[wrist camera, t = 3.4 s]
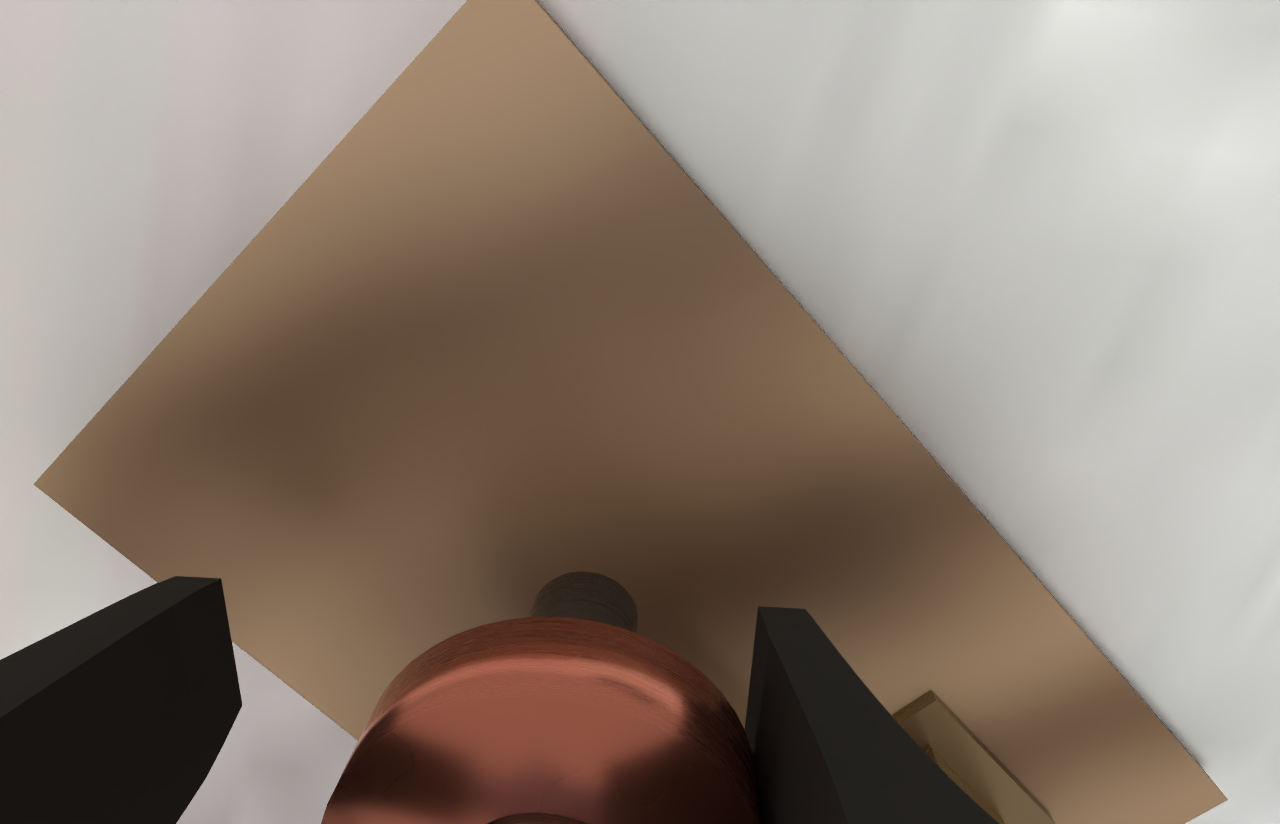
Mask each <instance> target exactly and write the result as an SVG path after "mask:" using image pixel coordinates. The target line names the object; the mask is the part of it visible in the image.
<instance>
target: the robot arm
mask: <svg viewBox="0 0 1280 824" xmlns="http://www.w3.org/2000/svg"><path fill="white" fill-rule="evenodd" d="M241 707H242V701H241V695H240V689H239V683H238V676H237V670H236V664H235V658H234V652H233V646H232V640H231V634H230V628H229V622H228V616H227V610H226V604H225V598H224V592H223V586H222V580H221V578H204V577H185V576H174V577H172V578H169V579H167V580H164V581H162V582H159V583H157V584H154V585H152V586H150V587H148V588H145V589H143V590H141V591H139V592H137V593H135V594H132V595H130V596H128V597H126V598H124V599H122V600H120V601H118V602H116V603H114V604H112V605H110V606H108V607H106V608H104V609H102V610H100V611H98V612H96V613H94V614H92V615H90V616H88V617H86V618H84V619H82V620H80V621H78V622H76V623H74V624H72V625H70V626H68V627H66V628H64V629H62V630H60V631H58V632H56V633H54V634H52V635H50V636H48V637H46V638H44V639H42V640H40V641H38V642H36V643H34V644H32V645H30V646H28V647H26V648H24V649H22V650H20V651H18V652H16V653H14V654H12V655H10V656H8V657H6V658H4V659H1V660H0V824H176V823H177V821H178V820H179V818H180V817H181V815H182V814H183V812H184V811H185V809H186V808H187V806H188V805H189V803H190V802H191V800H192V799H193V797H194V796H195V794H196V792H197V791H198V789H199V788H200V786H201V785H202V783H203V782H204V780H205V778H206V777H207V775H208V773H209V771H210V769H211V767H212V765H213V763H214V761H215V760H216V758H217V756H218V754H219V752H220V750H221V748H222V746H223V744H224V742H225V740H226V738H227V736H228V734H229V732H230V730H231V728H232V725H233V723H234V721H235V719H236V717H237V715H238V713H239V711H240V709H241ZM745 732H746V734H747V737H748V740H749V744H750V747H751V750H752V753H753V761H754V768H755V775H756V783H757V790H758V797H759V805H760V812H761V819H762V824H999V823H998V822H997V821H996V820H995V819H994V818H992V817H991V816H990V815H989V814H988V813H987V812H986V811H985V810H984V809H982V808H981V807H980V806H979V805H978V804H977V803H976V802H975V801H973V800H972V799H971V798H970V797H969V796H968V795H967V794H966V793H965V792H964V791H963V790H962V789H961V788H960V787H959V786H958V785H957V784H956V783H955V782H954V781H953V780H952V779H950V778H949V777H948V776H947V774H946V773H945V772H944V771H943V770H942V769H941V768H940V767H939V766H938V765H937V764H936V763H935V762H934V761H933V760H932V759H931V758H930V757H929V756H928V755H927V754H926V753H925V752H924V751H923V750H922V749H921V748H920V747H919V746H918V744H917V743H916V742H915V741H914V740H913V739H912V738H911V737H910V736H909V735H908V733H907V732H906V731H905V730H904V729H903V728H902V727H901V726H900V725H899V723H898V722H897V721H896V720H895V719H894V718H893V716H892V715H891V714H890V713H889V712H888V711H887V709H886V708H885V707H884V706H883V705H882V704H881V703H880V701H879V700H878V699H877V698H876V697H875V696H874V694H873V693H872V692H871V691H870V690H869V688H868V687H867V686H866V685H865V684H864V682H863V681H862V680H861V679H860V677H859V676H858V675H857V674H856V672H855V671H854V670H853V669H852V667H851V666H850V665H849V664H848V662H847V661H846V660H845V659H844V657H843V656H842V655H841V654H840V652H839V651H838V650H837V648H836V647H835V646H834V645H833V643H832V642H831V641H830V639H829V638H828V637H827V635H826V634H825V633H824V631H823V630H822V629H821V628H820V626H819V625H818V624H817V622H816V621H815V620H814V618H813V617H812V616H811V615H810V614H809V613H808V611H807V610H806V609H800V608H781V607H761V606H758V611H757V620H756V629H755V639H754V648H753V657H752V666H751V676H750V685H749V694H748V703H747V712H746V722H745Z"/></svg>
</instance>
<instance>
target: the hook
mask: <svg viewBox="0 0 1280 824" xmlns="http://www.w3.org/2000/svg"><path fill="white" fill-rule="evenodd" d="M637 626H638V614H637V609H636V606H635V603H634V601H633V599H632V597H631V596H630V594H629V593H628V592H627V591H626V589H625V588H624V587H623V586H621V585H620V584H619V583H618V582H616V581H614V580H613V579H611V578H609V577H607V576H604V575H601V574H598V573H594V572H571V573H567V574H563V575H561V576H558V577H556V578H554V579H553V580H551V581H550V582H548V583H547V584H546V585H545V586H544V587H543V588H542V589H541V590H540V591H539V593H538V594H537V596H536V598H535V600H534V603H533V606H532V610H531V613H530V617H525V618H516V619H508V620H502V621H498V622H493V623H489V624H485V625H481V626H477V627H474V628H472V629H469V630H466V631H464V632H461V633H458V634H456V635H453V636H451V637H449V638H447V639H445V640H444V641H442V642H440V643H438V644H436V645H434V646H432V647H431V648H429V649H428V650H426V651H425V652H424V653H422V654H421V655H419V656H418V657H417V658H415V659H414V660H412V661H411V662H410V663H409V664H408V665H407V666H406V667H405V668H404V669H403V670H402V671H401V672H400V673H399V674H398V675H397V676H396V677H395V678H394V679H393V680H392V682H391V683H390V684H389V686H388V687H387V688H386V690H385V691H384V692H383V694H382V695H381V697H380V699H379V701H378V703H377V705H376V706H375V708H374V710H373V712H372V714H371V716H370V718H369V720H368V722H367V724H366V726H365V728H364V730H363V732H362V734H361V737H360V739H359V741H358V743H357V745H356V747H355V749H354V751H353V753H352V755H351V757H350V759H349V761H348V763H347V765H346V767H345V769H344V771H343V773H342V775H341V777H340V779H339V782H338V784H337V786H336V788H335V790H334V792H333V794H332V796H331V798H330V800H329V802H328V804H327V807H326V810H325V813H324V816H323V820H322V823H321V824H762V819H761V812H760V805H759V797H758V790H757V783H756V775H755V768H754V761H753V753H752V750H751V747H750V744H749V740H748V737H747V734H746V732H745V730H744V728H743V726H742V724H741V722H740V719H739V717H738V715H737V713H736V712H735V710H734V709H733V708H732V706H731V705H730V703H729V702H728V700H727V699H726V698H725V696H724V695H723V693H722V692H721V691H720V690H719V689H718V688H717V687H716V686H715V685H714V684H713V683H712V682H711V681H710V679H709V678H708V677H707V676H706V675H704V674H703V673H702V672H701V671H700V670H698V669H697V668H696V667H695V666H693V665H692V664H691V663H690V662H689V661H687V660H686V659H684V658H683V657H681V656H680V655H678V654H676V653H675V652H673V651H672V650H670V649H669V648H667V647H665V646H663V645H661V644H659V643H657V642H655V641H653V640H651V639H649V638H647V637H644V636H642V635H640V634H637Z"/></svg>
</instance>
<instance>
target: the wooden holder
mask: <svg viewBox="0 0 1280 824" xmlns="http://www.w3.org/2000/svg"><path fill="white" fill-rule="evenodd" d="M892 716H893V718H894V719H895V720H896V721H897V722H898V723H899V725H900V726H901V727H902V728H903V729H904V730H905V731H906V732H907V733H908V735H909V736H910V737H911V738H912V739H913V740H914V741H915V742H916V743H917V744H918V746H919V747H920V748H921V749H922V750H923V751H924V752H925V753H926V754H927V755H928V756H929V757H930V758H931V759H932V760H933V761H934V762H935V763H936V764H937V765H938V766H939V767H940V768H941V769H942V770H943V771H944V772H945V773H946V774H947V776H948V777H949V778H950V779H952V780H953V781H954V782H955V783H956V784H957V785H958V786H959V787H960V788H961V789H962V790H963V791H964V792H965V793H966V794H967V795H968V796H969V797H970V798H971V799H972V800H973V801H975V802H976V803H977V804H978V805H979V806H980V807H981V808H982V809H984V810H985V811H986V812H987V813H988V814H989V815H990V816H991V817H992V818H994V819H995V820H996V821H997V822H998V823H999V824H1055V822H1054V820H1053V818H1052V817H1051V815H1050V813H1049V812H1048V811H1047V809H1046V808H1045V807H1044V806H1043V805H1042V804H1041V803H1040V802H1039V801H1038V800H1037V799H1036V798H1035V797H1034V796H1033V795H1032V794H1031V793H1030V792H1029V791H1028V790H1027V789H1026V788H1025V787H1024V786H1023V785H1022V784H1021V782H1020V781H1019V780H1018V779H1017V778H1016V777H1015V776H1014V775H1013V774H1012V773H1011V772H1010V771H1009V770H1008V769H1007V768H1006V767H1005V766H1004V765H1003V764H1002V763H1001V762H1000V761H999V760H998V759H997V758H996V757H995V756H994V754H993V753H992V752H991V751H990V750H989V749H988V748H987V747H986V746H985V745H984V744H983V743H982V742H981V741H980V740H979V739H978V738H977V737H976V736H975V735H974V734H973V733H972V732H971V731H970V730H969V729H968V727H967V726H966V725H965V724H964V723H963V722H962V721H961V720H960V719H959V718H958V717H957V716H956V715H955V714H954V713H953V712H952V711H951V710H950V709H949V708H948V707H947V706H946V705H945V704H944V703H943V702H942V701H941V699H940V698H939V697H938V696H937V695H936V694H935V693H934V692H933V691H932V690H930V691H928V692H927V693H925V694H923V695H922V696H920V697H919V698H917V699H916V700H914V701H913V702H911V703H910V704H908V705H907V706H905V707H904V708H902V709H901V710H899V711H897V712H896V713H894V714H893V715H892Z"/></svg>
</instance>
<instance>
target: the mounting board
mask: <svg viewBox="0 0 1280 824" xmlns="http://www.w3.org/2000/svg"><path fill="white" fill-rule="evenodd" d="M34 485H35V486H36V487H38V488H39V489H40V490H41V491H43V492H44V493H45V494H46V495H48V496H49V497H50V498H52V499H53V500H54V501H55V502H57V503H58V504H59V505H60V506H62V507H63V508H64V509H65V510H67V511H68V512H69V513H71V514H72V515H73V516H74V517H76V518H77V519H78V520H79V521H81V522H82V523H83V524H84V525H86V526H87V527H88V528H89V529H91V530H92V531H93V532H95V533H96V534H97V535H98V536H100V537H101V538H102V539H103V540H105V541H106V542H107V543H108V544H110V545H111V546H112V547H114V548H115V549H116V550H117V551H119V552H120V553H121V554H122V555H124V556H125V557H126V558H127V559H129V560H130V561H131V562H133V563H134V564H135V565H136V566H138V567H139V568H140V569H141V570H143V571H144V572H145V573H146V574H148V575H149V576H150V577H152V578H153V579H154V580H155V581H157V582H158V583H159V582H162V581H164V580H167V579H169V578H172V577H174V576H185V577H204V578H221V580H222V586H223V592H224V598H225V604H226V610H227V616H228V622H229V628H230V634H231V640H232V641H233V642H234V643H235V644H236V645H238V646H239V647H240V648H241V649H243V650H244V651H245V652H247V653H248V654H249V655H250V656H252V657H253V658H254V659H255V660H257V661H258V662H259V663H260V664H262V665H263V666H264V667H266V668H267V669H268V670H269V671H271V672H272V673H273V674H274V675H276V676H277V677H278V678H279V679H281V680H282V681H283V682H285V683H286V684H287V685H288V686H290V687H291V688H292V689H293V690H295V691H296V692H297V693H298V694H300V695H301V696H302V697H304V698H305V699H306V700H307V701H309V702H310V703H311V704H312V705H314V706H315V707H316V708H317V709H319V710H320V711H321V712H323V713H324V714H325V715H326V716H328V717H329V718H330V719H331V720H333V721H334V722H335V723H336V724H338V725H339V726H340V727H342V728H343V729H344V730H345V731H347V732H348V733H349V734H350V735H352V736H353V737H354V738H355V739H357V740H358V741H359V739H360V737H361V734H362V732H363V730H364V728H365V726H366V724H367V722H368V720H369V718H370V716H371V714H372V712H373V710H374V708H375V706H376V705H377V703H378V701H379V699H380V697H381V695H382V694H383V692H384V691H385V690H386V688H387V687H388V686H389V684H390V683H391V682H392V680H393V679H394V678H395V677H396V676H397V675H398V674H399V673H400V672H401V671H402V670H403V669H404V668H405V667H406V666H407V665H408V664H409V663H410V662H411V661H412V660H414V659H415V658H417V657H418V656H419V655H421V654H422V653H424V652H425V651H426V650H428V649H429V648H431V647H432V646H434V645H436V644H438V643H440V642H442V641H444V640H445V639H447V638H449V637H451V636H453V635H456V634H458V633H461V632H464V631H466V630H469V629H472V628H474V627H477V626H481V625H485V624H489V623H493V622H498V621H502V620H508V619H516V618H525V617H530V613H531V610H532V606H533V603H534V600H535V598H536V596H537V594H538V593H539V591H540V590H541V589H542V588H543V587H544V586H545V585H546V584H547V583H548V582H550V581H551V580H553V579H554V578H556V577H558V576H561V575H563V574H567V573H571V572H594V573H598V574H601V575H604V576H607V577H609V578H611V579H613V580H614V581H616V582H618V583H619V584H620V585H621V586H623V587H624V588H625V589H626V591H627V592H628V593H629V594H630V596H631V597H632V599H633V601H634V603H635V606H636V609H637V614H638V626H637V634H640V635H642V636H644V637H647V638H649V639H651V640H653V641H655V642H657V643H659V644H661V645H663V646H665V647H667V648H669V649H670V650H672V651H673V652H675V653H676V654H678V655H680V656H681V657H683V658H684V659H686V660H687V661H689V662H690V663H691V664H692V665H693V666H695V667H696V668H697V669H698V670H700V671H701V672H702V673H703V674H704V675H706V676H707V677H708V678H709V679H710V681H711V682H712V683H713V684H714V685H715V686H716V687H717V688H718V689H719V690H720V691H721V692H722V693H723V695H724V696H725V698H726V699H727V700H728V702H729V703H730V705H731V706H732V708H733V709H734V710H735V712H736V713H737V715H738V717H739V719H740V722H741V724H742V726H743V728H744V730H745V722H746V712H747V703H748V694H749V685H750V676H751V666H752V657H753V648H754V639H755V629H756V620H757V611H758V606H761V607H781V608H800V609H806V610H807V611H808V613H809V614H810V615H811V616H812V617H813V618H814V620H815V621H816V622H817V624H818V625H819V626H820V628H821V629H822V630H823V631H824V633H825V634H826V635H827V637H828V638H829V639H830V641H831V642H832V643H833V645H834V646H835V647H836V648H837V650H838V651H839V652H840V654H841V655H842V656H843V657H844V659H845V660H846V661H847V662H848V664H849V665H850V666H851V667H852V669H853V670H854V671H855V672H856V674H857V675H858V676H859V677H860V679H861V680H862V681H863V682H864V684H865V685H866V686H867V687H868V688H869V690H870V691H871V692H872V693H873V694H874V696H875V697H876V698H877V699H878V700H879V701H880V703H881V704H882V705H883V706H884V707H885V708H886V709H887V711H888V712H889V713H890V714H891V715H893V714H894V713H896V712H897V711H899V710H901V709H902V708H904V707H905V706H907V705H908V704H910V703H911V702H913V701H914V700H916V699H917V698H919V697H920V696H922V695H923V694H925V693H927V692H928V691H930V690H932V691H933V692H934V693H935V694H936V695H937V696H938V697H939V698H940V699H941V701H942V702H943V703H944V704H945V705H946V706H947V707H948V708H949V709H950V710H951V711H952V712H953V713H954V714H955V715H956V716H957V717H958V718H959V719H960V720H961V721H962V722H963V723H964V724H965V725H966V726H967V727H968V729H969V730H970V731H971V732H972V733H973V734H974V735H975V736H976V737H977V738H978V739H979V740H980V741H981V742H982V743H983V744H984V745H985V746H986V747H987V748H988V749H989V750H990V751H991V752H992V753H993V754H994V756H995V757H996V758H997V759H998V760H999V761H1000V762H1001V763H1002V764H1003V765H1004V766H1005V767H1006V768H1007V769H1008V770H1009V771H1010V772H1011V773H1012V774H1013V775H1014V776H1015V777H1016V778H1017V779H1018V780H1019V781H1020V782H1021V784H1022V785H1023V786H1024V787H1025V788H1026V789H1027V790H1028V791H1029V792H1030V793H1031V794H1032V795H1033V796H1034V797H1035V798H1036V799H1037V800H1038V801H1039V802H1040V803H1041V804H1042V805H1043V806H1044V807H1045V808H1046V809H1047V811H1048V812H1049V813H1050V815H1051V817H1052V818H1053V820H1054V822H1055V824H1185V823H1186V822H1188V821H1190V820H1192V819H1194V818H1195V817H1197V816H1199V815H1201V814H1203V813H1205V812H1206V811H1208V810H1210V809H1212V808H1214V807H1216V806H1217V805H1219V804H1221V803H1223V802H1225V801H1226V800H1228V799H1227V798H1226V797H1225V796H1224V794H1223V793H1222V792H1221V791H1220V789H1219V788H1218V787H1217V786H1216V785H1215V783H1214V782H1213V781H1212V780H1211V778H1210V777H1209V776H1208V775H1207V774H1206V772H1205V771H1204V770H1203V769H1202V768H1201V766H1200V765H1199V764H1198V763H1197V762H1196V761H1195V759H1194V758H1193V757H1192V756H1191V755H1190V754H1189V753H1188V751H1187V750H1186V749H1185V748H1184V747H1183V746H1182V744H1181V743H1180V742H1179V741H1178V740H1177V739H1176V738H1175V736H1174V735H1173V734H1172V733H1171V732H1170V731H1169V729H1168V728H1167V727H1166V726H1165V725H1164V724H1163V723H1162V721H1161V720H1160V719H1159V718H1158V717H1157V716H1156V714H1155V713H1154V712H1153V711H1152V710H1151V709H1150V708H1149V706H1148V705H1147V704H1146V703H1145V702H1144V701H1143V699H1142V698H1141V697H1140V696H1139V695H1138V694H1137V693H1136V691H1135V690H1134V689H1133V688H1132V687H1131V686H1130V684H1129V683H1128V682H1127V681H1126V680H1125V679H1124V678H1123V676H1122V675H1121V674H1120V673H1119V672H1118V671H1117V669H1116V668H1115V667H1114V666H1113V665H1112V664H1111V663H1110V661H1109V660H1108V659H1107V658H1106V657H1105V656H1104V655H1103V653H1102V652H1101V651H1100V650H1099V649H1098V648H1097V646H1096V645H1095V644H1094V643H1093V642H1092V641H1091V640H1090V638H1089V637H1088V636H1087V635H1086V634H1085V633H1084V631H1083V630H1082V629H1081V628H1080V627H1079V626H1078V625H1077V623H1076V622H1075V621H1074V620H1073V619H1072V618H1071V616H1070V615H1069V614H1068V613H1067V612H1066V611H1065V610H1064V608H1063V607H1062V606H1061V605H1060V604H1059V603H1058V601H1057V600H1056V599H1055V598H1054V597H1053V596H1052V595H1051V593H1050V592H1049V591H1048V590H1047V589H1046V588H1045V586H1044V585H1043V584H1042V583H1041V582H1040V581H1039V580H1038V578H1037V577H1036V576H1035V575H1034V574H1033V573H1032V571H1031V570H1030V569H1029V568H1028V567H1027V566H1026V565H1025V563H1024V562H1023V561H1022V560H1021V559H1020V558H1019V556H1018V555H1017V554H1016V553H1015V552H1014V551H1013V550H1012V548H1011V547H1010V546H1009V545H1008V544H1007V543H1006V542H1005V540H1004V539H1003V538H1002V537H1001V536H1000V535H999V533H998V532H997V531H996V530H995V529H994V528H993V527H992V525H991V524H990V523H989V522H988V521H987V520H986V518H985V517H984V516H983V515H982V514H981V513H980V512H979V510H978V509H977V508H976V507H975V506H974V505H973V503H972V502H971V501H970V500H969V499H968V498H967V497H966V495H965V494H964V493H963V492H962V491H961V490H960V488H959V487H958V486H957V485H956V484H955V483H954V482H953V480H952V479H951V478H950V477H949V476H948V475H947V473H946V472H945V471H944V470H943V469H942V468H941V467H940V465H939V464H938V463H937V462H936V461H935V460H934V458H933V457H932V456H931V455H930V454H929V453H928V452H927V450H926V449H925V448H924V447H923V446H922V445H921V443H920V442H919V441H918V440H917V439H916V438H915V437H914V435H913V434H912V433H911V432H910V431H909V430H908V429H907V427H906V426H905V425H904V424H903V423H902V422H901V420H900V419H899V418H898V417H897V416H896V415H895V414H894V412H893V411H892V410H891V409H890V408H889V407H888V405H887V404H886V403H885V402H884V401H883V400H882V399H881V397H880V396H879V395H878V394H877V393H876V392H875V390H874V389H873V388H872V387H871V386H870V385H869V384H868V382H867V381H866V380H865V379H864V378H863V377H862V375H861V374H860V373H859V372H858V371H857V370H856V369H855V367H854V366H853V365H852V364H851V363H850V362H849V360H848V359H847V358H846V357H845V356H844V355H843V354H842V352H841V351H840V350H839V349H838V348H837V347H836V345H835V344H834V343H833V342H832V341H831V340H830V339H829V337H828V336H827V335H826V334H825V333H824V332H823V330H822V329H821V328H820V327H819V326H818V325H817V324H816V322H815V321H814V320H813V319H812V318H811V317H810V315H809V314H808V313H807V312H806V311H805V310H804V309H803V307H802V306H801V305H800V304H799V303H798V302H797V301H796V299H795V298H794V297H793V296H792V295H791V294H790V292H789V291H788V290H787V289H786V288H785V287H784V286H783V284H782V283H781V282H780V281H779V280H778V279H777V277H776V276H775V275H774V274H773V273H772V272H771V271H770V269H769V268H768V267H767V266H766V265H765V264H764V262H763V261H762V260H761V259H760V258H759V257H758V256H757V254H756V253H755V252H754V251H753V250H752V249H751V247H750V246H749V245H748V244H747V243H746V242H745V241H744V239H743V238H742V237H741V236H740V235H739V234H738V232H737V231H736V230H735V229H734V228H733V227H732V226H731V224H730V223H729V222H728V221H727V220H726V219H725V217H724V216H723V215H722V214H721V213H720V212H719V211H718V209H717V208H716V207H715V206H714V205H713V204H712V202H711V201H710V200H709V199H708V198H707V197H706V196H705V194H704V193H703V192H702V191H701V190H700V189H699V188H698V186H697V185H696V184H695V183H694V182H693V181H692V179H691V178H690V177H689V176H688V175H687V174H686V173H685V171H684V170H683V169H682V168H681V167H680V166H679V164H678V163H677V162H676V161H675V160H674V159H673V158H672V156H671V155H670V154H669V153H668V152H667V151H666V149H665V148H664V147H663V146H662V145H661V144H660V143H659V141H658V140H657V139H656V138H655V137H654V136H653V134H652V133H651V132H650V131H649V130H648V129H647V128H646V126H645V125H644V124H643V123H642V122H641V121H640V119H639V118H638V117H637V116H636V115H635V114H634V113H633V111H632V110H631V109H630V108H629V107H628V106H627V104H626V103H625V102H624V101H623V100H622V99H621V98H620V96H619V95H618V94H617V93H616V92H615V91H614V89H613V88H612V87H611V86H610V85H609V84H608V83H607V81H606V80H605V79H604V78H603V77H602V76H601V74H600V73H599V72H598V71H597V70H596V69H595V68H594V66H593V65H592V64H591V63H590V62H589V61H588V60H587V58H586V57H585V56H584V55H583V54H582V53H581V51H580V50H579V49H578V48H577V47H576V46H575V45H574V43H573V42H572V41H571V40H570V39H569V38H568V36H567V35H566V34H565V33H564V32H563V31H562V30H561V28H560V27H559V26H558V25H557V24H556V23H555V21H554V20H553V19H552V18H551V17H550V16H549V15H548V13H547V12H546V11H545V10H544V9H543V8H542V6H541V5H540V4H539V3H538V2H537V1H536V0H467V2H466V3H465V4H464V5H463V6H462V7H461V8H460V9H459V11H458V12H457V13H456V14H455V15H454V16H453V17H452V18H451V19H450V21H449V22H448V23H447V24H446V25H445V26H444V27H443V28H442V29H441V31H440V32H439V33H438V34H437V35H436V36H435V37H434V38H433V40H432V41H431V42H430V43H429V44H428V45H427V46H426V47H425V48H424V50H423V51H422V52H421V53H420V54H419V55H418V56H417V57H416V58H415V60H414V61H413V62H412V63H411V64H410V65H409V66H408V67H407V68H406V70H405V71H404V72H403V73H402V74H401V75H400V76H399V77H398V79H397V80H396V81H395V82H394V83H393V84H392V85H391V86H390V87H389V89H388V90H387V91H386V92H385V93H384V94H383V95H382V96H381V97H380V99H379V100H378V101H377V102H376V103H375V104H374V105H373V106H372V108H371V109H370V110H369V111H368V112H367V113H366V114H365V115H364V116H363V118H362V119H361V120H360V121H359V122H358V123H357V124H356V125H355V126H354V128H353V129H352V130H351V131H350V132H349V133H348V134H347V135H346V137H345V138H344V139H343V140H342V141H341V142H340V143H339V144H338V145H337V147H336V148H335V149H334V150H333V151H332V152H331V153H330V154H329V155H328V157H327V158H326V159H325V160H324V161H323V162H322V163H321V164H320V166H319V167H318V168H317V169H316V170H315V171H314V172H313V173H312V174H311V176H310V177H309V178H308V179H307V180H306V181H305V182H304V183H303V184H302V186H301V187H300V188H299V189H298V190H297V191H296V192H295V193H294V194H293V196H292V197H291V198H290V199H289V200H288V201H287V202H286V203H285V205H284V206H283V207H282V208H281V209H280V210H279V211H278V212H277V213H276V215H275V216H274V217H273V218H272V219H271V220H270V221H269V222H268V223H267V225H266V226H265V227H264V228H263V229H262V230H261V231H260V232H259V234H258V235H257V236H256V237H255V238H254V239H253V240H252V241H251V242H250V244H249V245H248V246H247V247H246V248H245V249H244V250H243V251H242V252H241V254H240V255H239V256H238V257H237V258H236V259H235V260H234V261H233V263H232V264H231V265H230V266H229V267H228V268H227V269H226V270H225V271H224V273H223V274H222V275H221V276H220V277H219V278H218V279H217V280H216V281H215V283H214V284H213V285H212V286H211V287H210V288H209V289H208V290H207V292H206V293H205V294H204V295H203V296H202V297H201V298H200V299H199V300H198V302H197V303H196V304H195V305H194V306H193V307H192V308H191V309H190V310H189V312H188V313H187V314H186V315H185V316H184V317H183V318H182V319H181V320H180V322H179V323H178V324H177V325H176V326H175V327H174V328H173V329H172V331H171V332H170V333H169V334H168V335H167V336H166V337H165V338H164V339H163V341H162V342H161V343H160V344H159V345H158V346H157V347H156V348H155V349H154V351H153V352H152V353H151V354H150V355H149V356H148V357H147V358H146V360H145V361H144V362H143V363H142V364H141V365H140V366H139V367H138V368H137V370H136V371H135V372H134V373H133V374H132V375H131V376H130V377H129V378H128V380H127V381H126V382H125V383H124V384H123V385H122V386H121V387H120V389H119V390H118V391H117V392H116V393H115V394H114V395H113V396H112V397H111V399H110V400H109V401H108V402H107V403H106V404H105V405H104V406H103V407H102V409H101V410H100V411H99V412H98V413H97V414H96V415H95V416H94V418H93V419H92V420H91V421H90V422H89V423H88V424H87V425H86V426H85V428H84V429H83V430H82V431H81V432H80V433H79V434H78V435H77V436H76V438H75V439H74V440H73V441H72V442H71V443H70V444H69V445H68V446H67V448H66V449H65V450H64V451H63V452H62V453H61V454H60V455H59V457H58V458H57V459H56V460H55V461H54V462H53V463H52V464H51V465H50V467H49V468H48V469H47V470H46V471H45V472H44V473H43V474H42V475H41V477H40V478H39V479H38V480H37V481H36V482H35V483H34Z"/></svg>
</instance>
